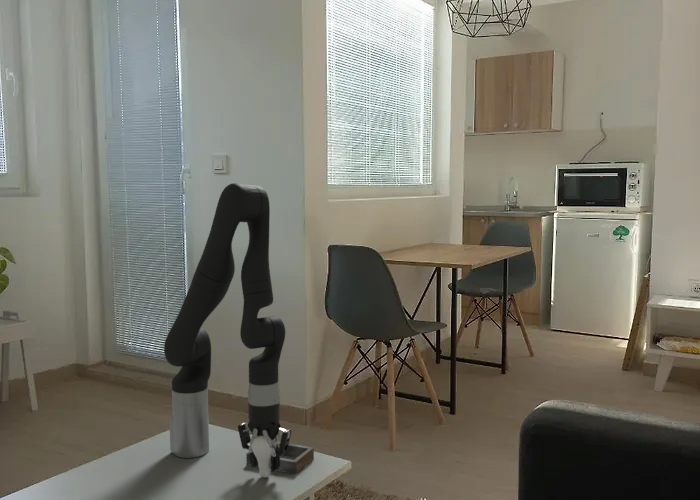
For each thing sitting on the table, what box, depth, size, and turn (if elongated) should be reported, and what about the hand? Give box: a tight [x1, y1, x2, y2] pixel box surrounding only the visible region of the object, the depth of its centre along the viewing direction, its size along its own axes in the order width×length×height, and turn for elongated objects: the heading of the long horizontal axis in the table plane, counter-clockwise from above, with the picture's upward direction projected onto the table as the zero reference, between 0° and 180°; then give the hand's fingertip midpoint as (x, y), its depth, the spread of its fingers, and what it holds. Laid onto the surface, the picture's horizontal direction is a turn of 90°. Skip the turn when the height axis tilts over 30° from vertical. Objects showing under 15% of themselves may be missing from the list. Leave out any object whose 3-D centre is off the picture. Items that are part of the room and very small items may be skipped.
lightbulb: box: [252, 436, 277, 478], centre depth 165 cm, size 6×6×11 cm
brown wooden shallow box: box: [245, 441, 315, 475], centre depth 174 cm, size 14×10×3 cm
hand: (264, 467), depth 165 cm, fingers closed on lightbulb, 5 cm apart
